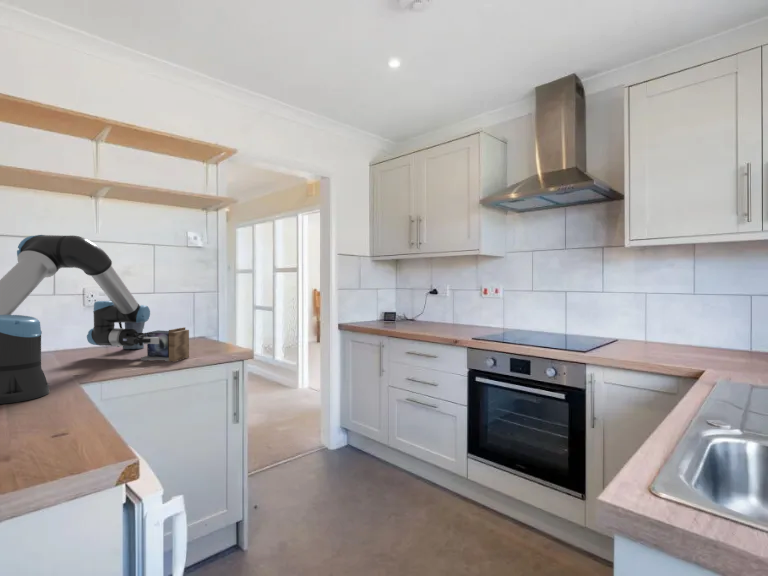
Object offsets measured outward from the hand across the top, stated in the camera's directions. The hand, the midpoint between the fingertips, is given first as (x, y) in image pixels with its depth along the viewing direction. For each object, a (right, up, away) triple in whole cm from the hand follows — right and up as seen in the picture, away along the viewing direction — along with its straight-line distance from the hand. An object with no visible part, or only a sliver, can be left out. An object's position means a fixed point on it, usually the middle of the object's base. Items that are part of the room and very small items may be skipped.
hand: (169, 338), depth 175 cm
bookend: (-2, -9, 0) cm, 9 cm away
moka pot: (-31, -8, +26) cm, 41 cm away
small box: (-3, -8, +1) cm, 8 cm away
